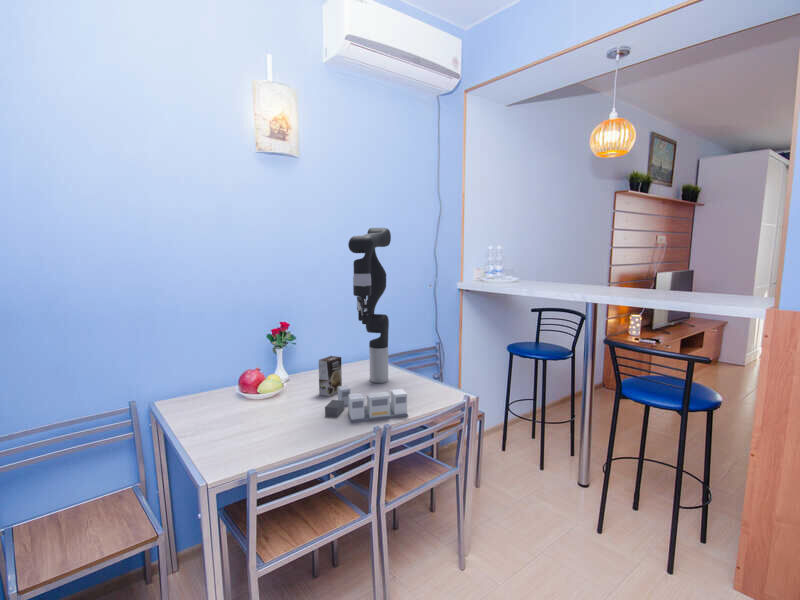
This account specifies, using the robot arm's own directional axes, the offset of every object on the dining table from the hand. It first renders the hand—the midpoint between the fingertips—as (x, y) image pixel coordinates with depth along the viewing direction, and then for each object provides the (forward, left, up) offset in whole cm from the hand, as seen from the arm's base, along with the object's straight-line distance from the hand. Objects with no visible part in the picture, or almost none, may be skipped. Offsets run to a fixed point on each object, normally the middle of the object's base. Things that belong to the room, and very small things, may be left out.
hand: (362, 322), depth 176 cm
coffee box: (-13, -13, -34) cm, 39 cm away
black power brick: (+11, -14, -34) cm, 39 cm away
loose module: (+20, +2, -33) cm, 39 cm away
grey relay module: (+2, -9, -34) cm, 35 cm away
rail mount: (+18, +2, -34) cm, 39 cm away
